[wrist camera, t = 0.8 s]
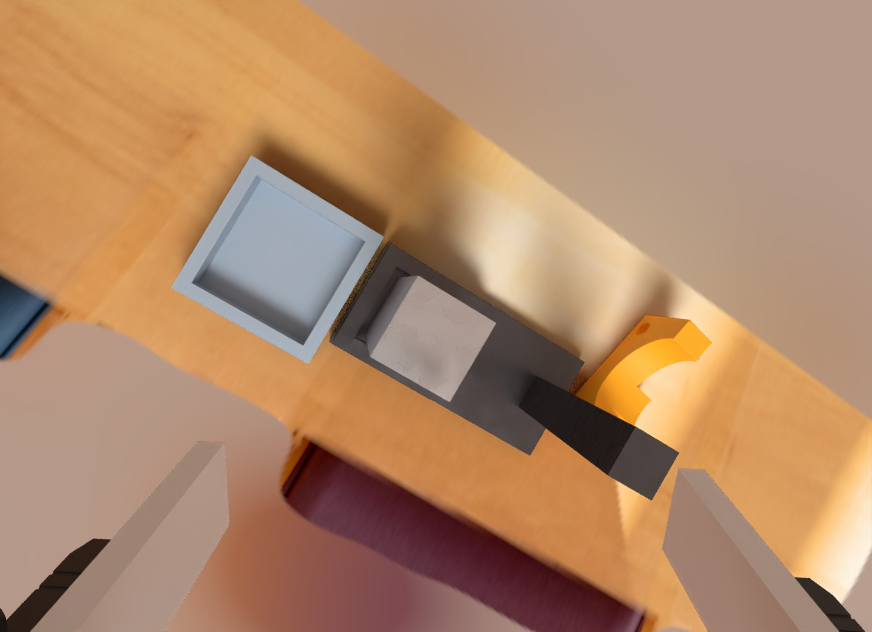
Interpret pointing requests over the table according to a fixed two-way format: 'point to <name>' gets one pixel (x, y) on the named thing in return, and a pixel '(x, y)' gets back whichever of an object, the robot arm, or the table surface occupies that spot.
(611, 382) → the pipe clamp
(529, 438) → the dark grey post stand
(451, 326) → the light grey tall block
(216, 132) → the table surface
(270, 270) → the parts tray
